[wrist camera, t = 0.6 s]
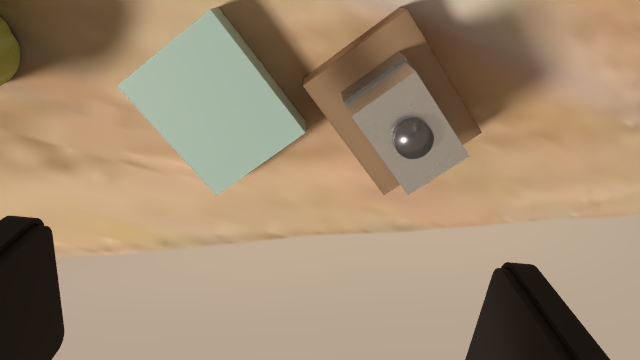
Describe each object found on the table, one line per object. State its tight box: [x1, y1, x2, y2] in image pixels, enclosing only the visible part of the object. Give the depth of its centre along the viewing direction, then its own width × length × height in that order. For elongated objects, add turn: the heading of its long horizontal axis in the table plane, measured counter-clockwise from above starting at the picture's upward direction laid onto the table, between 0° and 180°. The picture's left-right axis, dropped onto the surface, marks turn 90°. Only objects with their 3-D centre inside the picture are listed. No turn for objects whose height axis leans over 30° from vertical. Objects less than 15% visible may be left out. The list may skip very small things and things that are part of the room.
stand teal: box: [117, 7, 306, 196], centre depth 36 cm, size 9×11×3 cm
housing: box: [341, 51, 469, 195], centre depth 31 cm, size 5×7×7 cm
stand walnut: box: [303, 7, 482, 195], centre depth 36 cm, size 9×11×3 cm
